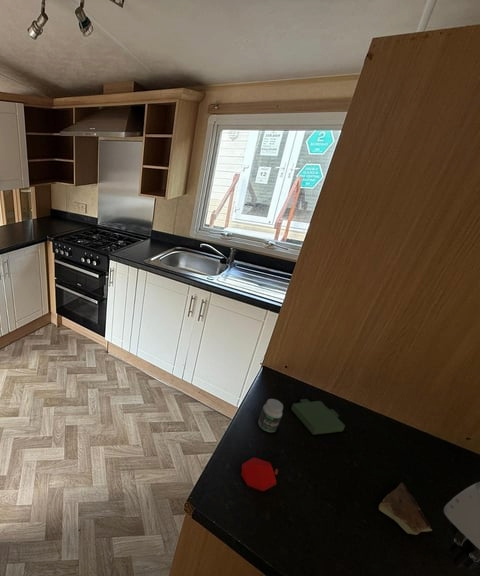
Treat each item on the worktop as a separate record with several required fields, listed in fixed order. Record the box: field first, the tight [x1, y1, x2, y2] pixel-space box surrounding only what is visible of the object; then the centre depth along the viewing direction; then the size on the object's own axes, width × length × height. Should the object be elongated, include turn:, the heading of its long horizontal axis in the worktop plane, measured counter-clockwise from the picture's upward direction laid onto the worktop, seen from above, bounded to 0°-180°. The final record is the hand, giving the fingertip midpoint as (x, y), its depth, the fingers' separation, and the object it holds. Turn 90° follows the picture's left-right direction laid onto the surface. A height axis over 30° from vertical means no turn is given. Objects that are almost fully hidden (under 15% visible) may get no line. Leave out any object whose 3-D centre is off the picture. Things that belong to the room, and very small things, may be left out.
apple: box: [240, 457, 279, 492], centre depth 72 cm, size 7×7×8 cm
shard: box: [378, 481, 433, 536], centre depth 67 cm, size 11×8×2 cm
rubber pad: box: [290, 398, 346, 435], centre depth 90 cm, size 10×10×2 cm
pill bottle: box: [258, 398, 284, 433], centre depth 86 cm, size 5×5×8 cm
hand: (458, 561), depth 58 cm, fingers closed
